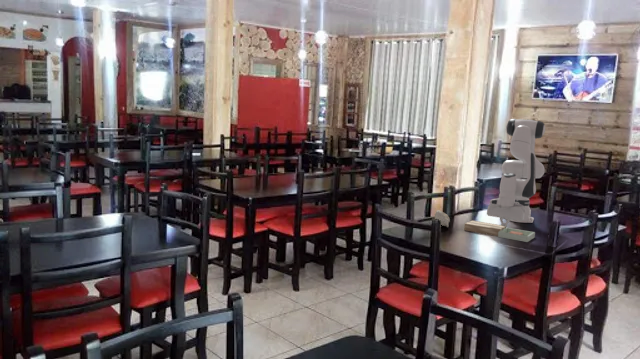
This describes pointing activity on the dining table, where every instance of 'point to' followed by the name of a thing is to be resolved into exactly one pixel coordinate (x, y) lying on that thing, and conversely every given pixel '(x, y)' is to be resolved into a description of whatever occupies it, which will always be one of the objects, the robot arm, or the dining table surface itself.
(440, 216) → the cheese
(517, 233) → the tile
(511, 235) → the tray
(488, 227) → the board
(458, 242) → the dining table surface
